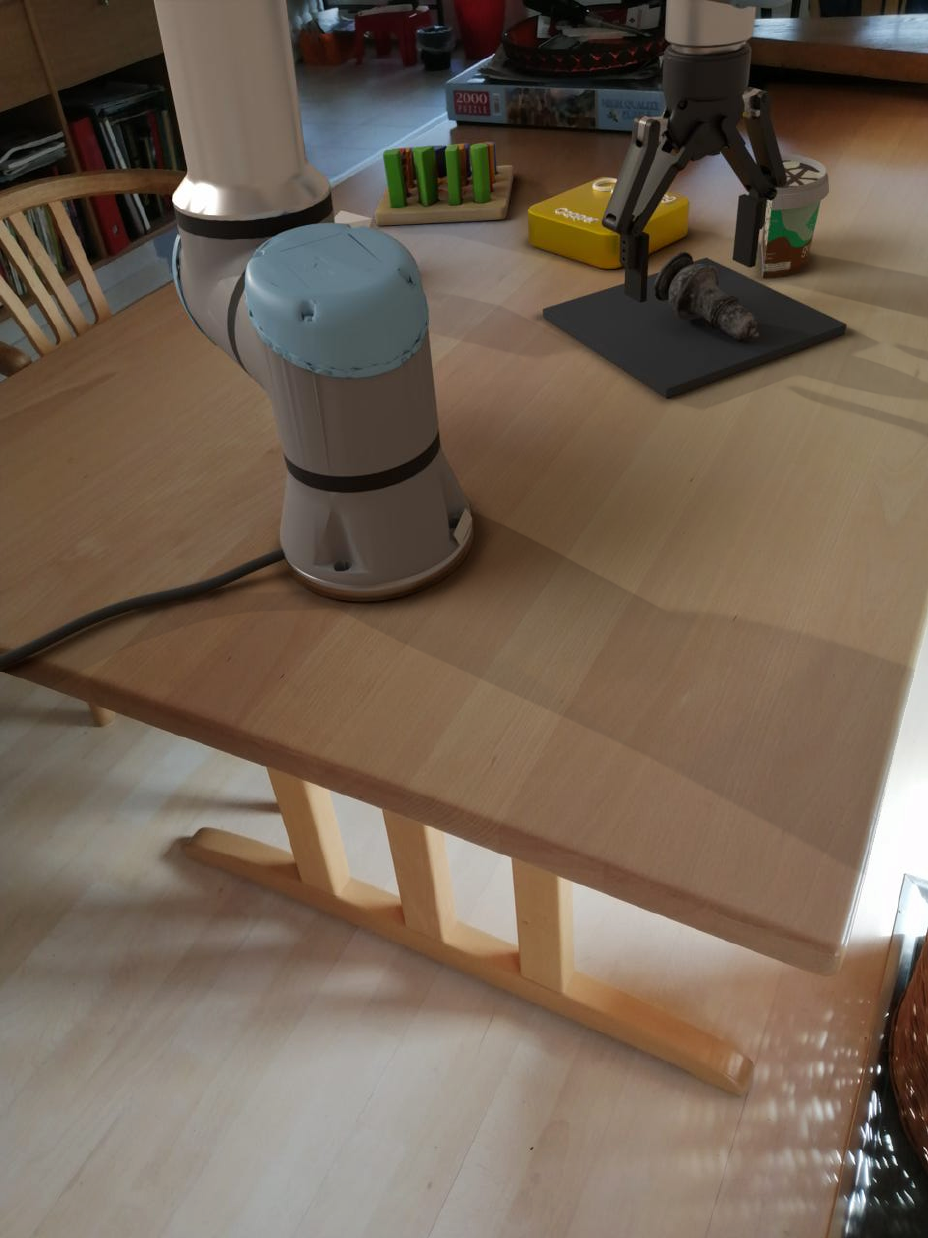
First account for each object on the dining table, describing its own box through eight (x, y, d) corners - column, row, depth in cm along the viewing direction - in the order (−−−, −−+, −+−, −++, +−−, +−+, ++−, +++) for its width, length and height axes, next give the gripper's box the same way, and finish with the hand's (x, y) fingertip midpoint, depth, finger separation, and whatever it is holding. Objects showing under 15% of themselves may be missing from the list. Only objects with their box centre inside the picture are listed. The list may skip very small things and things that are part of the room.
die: (411, 288, 119) (390, 204, 118) (375, 278, 111) (352, 188, 110) (351, 311, 123) (330, 229, 122) (312, 303, 115) (289, 216, 114)
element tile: (521, 243, 125) (520, 204, 122) (603, 208, 132) (603, 170, 129) (611, 273, 116) (612, 231, 113) (694, 233, 123) (697, 193, 120)
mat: (666, 398, 94) (666, 389, 93) (542, 317, 109) (542, 308, 108) (845, 333, 100) (846, 324, 100) (705, 265, 116) (706, 256, 115)
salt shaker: (700, 268, 105) (786, 327, 99) (661, 312, 106) (743, 372, 100) (685, 237, 100) (774, 297, 94) (644, 284, 101) (730, 346, 95)
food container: (821, 283, 109) (836, 189, 103) (762, 283, 111) (773, 189, 104) (814, 240, 118) (828, 151, 112) (760, 240, 120) (771, 152, 113)
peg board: (514, 176, 144) (511, 112, 139) (505, 220, 131) (502, 151, 126) (395, 182, 147) (387, 119, 141) (375, 226, 134) (365, 159, 128)
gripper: (789, 12, 94) (762, 238, 108) (563, 62, 86) (566, 299, 100) (848, 23, 89) (812, 260, 103) (613, 78, 81) (609, 326, 95)
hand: (690, 280), depth 101 cm, fingers open, 13 cm apart
